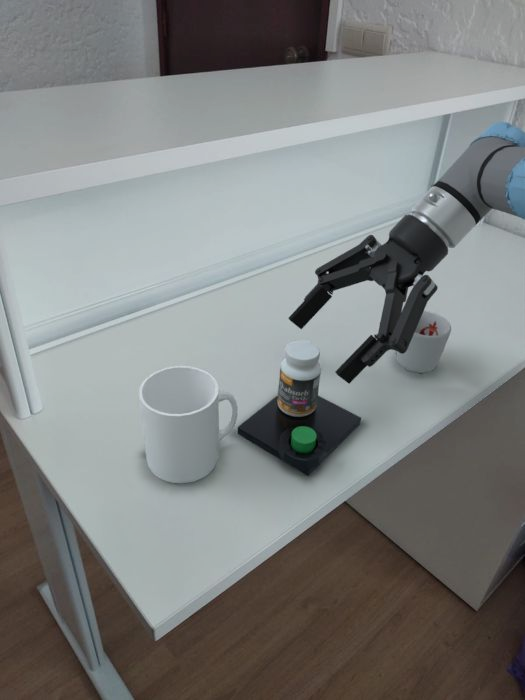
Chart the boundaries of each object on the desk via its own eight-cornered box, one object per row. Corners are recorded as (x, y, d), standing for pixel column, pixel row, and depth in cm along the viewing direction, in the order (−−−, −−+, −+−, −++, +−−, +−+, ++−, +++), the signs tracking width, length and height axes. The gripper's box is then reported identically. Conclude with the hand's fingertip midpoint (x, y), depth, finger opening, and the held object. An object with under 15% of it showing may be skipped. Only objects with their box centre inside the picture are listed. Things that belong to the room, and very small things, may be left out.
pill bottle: (272, 413, 82) (276, 356, 76) (283, 389, 86) (287, 334, 81) (311, 422, 81) (318, 365, 75) (320, 397, 85) (327, 342, 79)
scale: (363, 426, 82) (366, 410, 81) (307, 483, 73) (309, 467, 72) (292, 389, 89) (294, 373, 87) (232, 437, 79) (232, 421, 78)
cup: (368, 354, 97) (375, 313, 92) (396, 337, 101) (405, 297, 97) (422, 385, 91) (432, 343, 86) (450, 365, 95) (461, 324, 90)
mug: (133, 452, 76) (124, 383, 70) (209, 417, 83) (208, 350, 76) (169, 498, 70) (163, 427, 64) (249, 456, 77) (251, 388, 70)
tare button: (320, 443, 75) (321, 433, 74) (306, 457, 73) (307, 447, 72) (300, 432, 77) (301, 422, 76) (285, 445, 75) (286, 435, 74)
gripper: (363, 182, 82) (262, 292, 85) (484, 256, 63) (349, 393, 67) (389, 213, 87) (292, 316, 90) (507, 290, 68) (381, 416, 72)
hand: (316, 349), depth 79 cm, fingers open, 13 cm apart
